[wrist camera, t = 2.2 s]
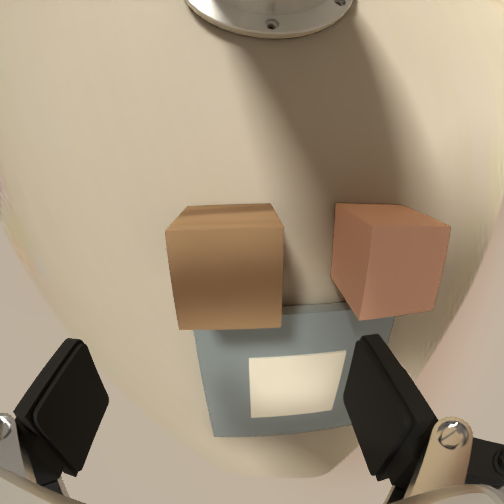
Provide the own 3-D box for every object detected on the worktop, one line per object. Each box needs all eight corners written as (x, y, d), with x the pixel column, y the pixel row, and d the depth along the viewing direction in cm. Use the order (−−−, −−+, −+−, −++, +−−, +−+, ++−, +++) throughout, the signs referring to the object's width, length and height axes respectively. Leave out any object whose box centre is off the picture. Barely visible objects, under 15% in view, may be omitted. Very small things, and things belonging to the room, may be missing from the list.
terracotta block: (335, 203, 19) (372, 225, 13) (402, 205, 19) (451, 226, 13) (330, 276, 21) (358, 320, 15) (393, 272, 21) (432, 310, 15)
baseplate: (194, 309, 21) (191, 319, 20) (391, 297, 21) (398, 305, 20) (214, 428, 26) (214, 438, 25) (355, 415, 27) (359, 424, 26)
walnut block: (187, 206, 18) (164, 231, 13) (270, 203, 19) (284, 227, 13) (194, 281, 20) (179, 329, 15) (270, 279, 20) (281, 327, 15)
